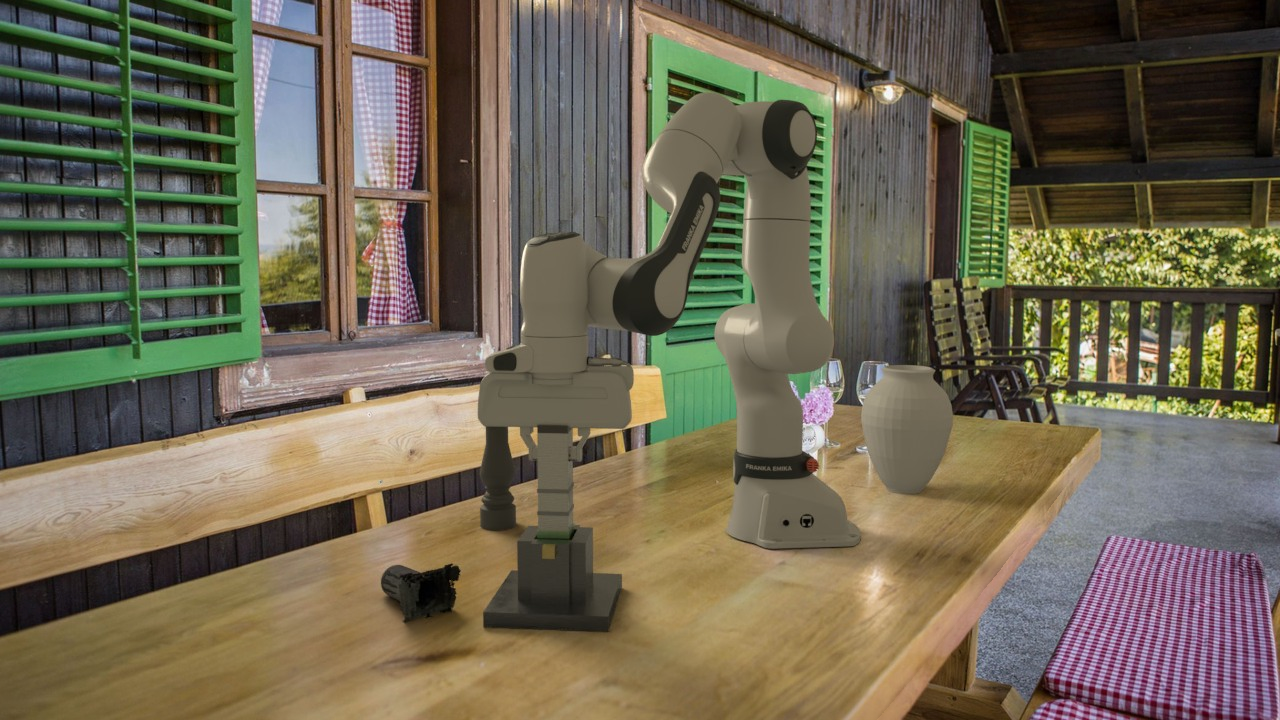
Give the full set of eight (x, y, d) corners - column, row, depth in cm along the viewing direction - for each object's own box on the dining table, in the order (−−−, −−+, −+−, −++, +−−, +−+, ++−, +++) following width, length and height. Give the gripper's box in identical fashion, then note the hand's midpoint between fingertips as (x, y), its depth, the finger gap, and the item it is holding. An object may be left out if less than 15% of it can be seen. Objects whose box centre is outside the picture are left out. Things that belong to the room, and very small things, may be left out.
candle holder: (509, 531, 161) (507, 387, 158) (475, 529, 162) (472, 386, 160) (520, 521, 167) (519, 382, 164) (487, 519, 168) (485, 381, 166)
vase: (852, 495, 186) (856, 370, 183) (866, 476, 202) (869, 361, 199) (946, 504, 179) (951, 374, 176) (953, 483, 195) (957, 364, 193)
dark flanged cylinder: (456, 621, 125) (412, 601, 134) (463, 563, 125) (419, 547, 134) (394, 626, 119) (353, 605, 128) (402, 565, 119) (360, 548, 128)
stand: (621, 587, 134) (621, 519, 133) (608, 631, 118) (608, 554, 117) (511, 583, 135) (510, 516, 134) (483, 627, 119) (482, 550, 118)
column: (574, 543, 128) (573, 420, 126) (569, 553, 123) (568, 426, 121) (543, 542, 128) (542, 419, 126) (537, 552, 124) (535, 425, 122)
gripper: (635, 355, 125) (635, 456, 127) (485, 353, 127) (487, 453, 128) (631, 360, 119) (631, 467, 120) (473, 358, 121) (475, 463, 122)
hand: (555, 460), depth 124 cm, fingers closed on column, 4 cm apart
